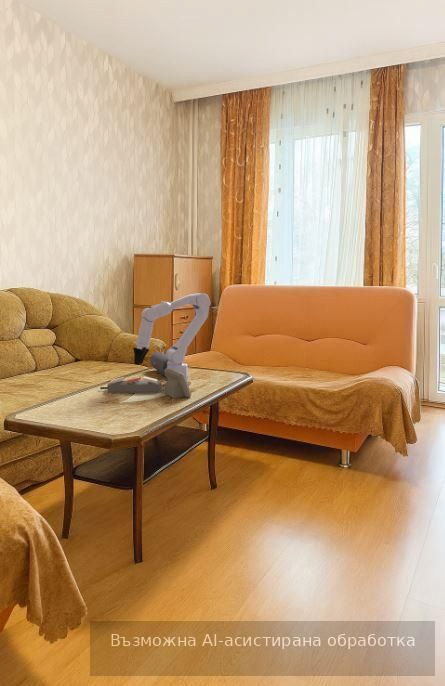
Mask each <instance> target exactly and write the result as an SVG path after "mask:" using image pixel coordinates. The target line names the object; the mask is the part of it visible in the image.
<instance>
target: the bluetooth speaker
mask: <svg viewBox="0 0 445 686" xmlns="http://www.w3.org/2000/svg"><path fill="white" fill-rule="evenodd" d="M167 362H168V360H167V358H166V353H163V352H159V351H156V352H153V353H152V354H151V355H150V358H149V363H150V365H151V366H152V368H154V369H155V370H156V371H158V373H159V374H160V375H161V376H165V377H166V375H165V372H164V370H165V369H166V368H167Z"/></svg>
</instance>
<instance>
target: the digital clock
mask: <svg viewBox="0 0 445 686" xmlns="http://www.w3.org/2000/svg"><path fill="white" fill-rule="evenodd" d="M164 372H165V375H166V376H165V378H166V382H164V392H163V393H164V395H166V396H169V397H170V398H173V399H177V398H183V397H184V398H187V399H188V398H191V397H192V392H191V390H190V389H191V388H190V386H189V382H188V381H186V378H185V375H184V374H183V373H181V372H178V371H175V370H173V369H170V368H166V369H165V370H164Z"/></svg>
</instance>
